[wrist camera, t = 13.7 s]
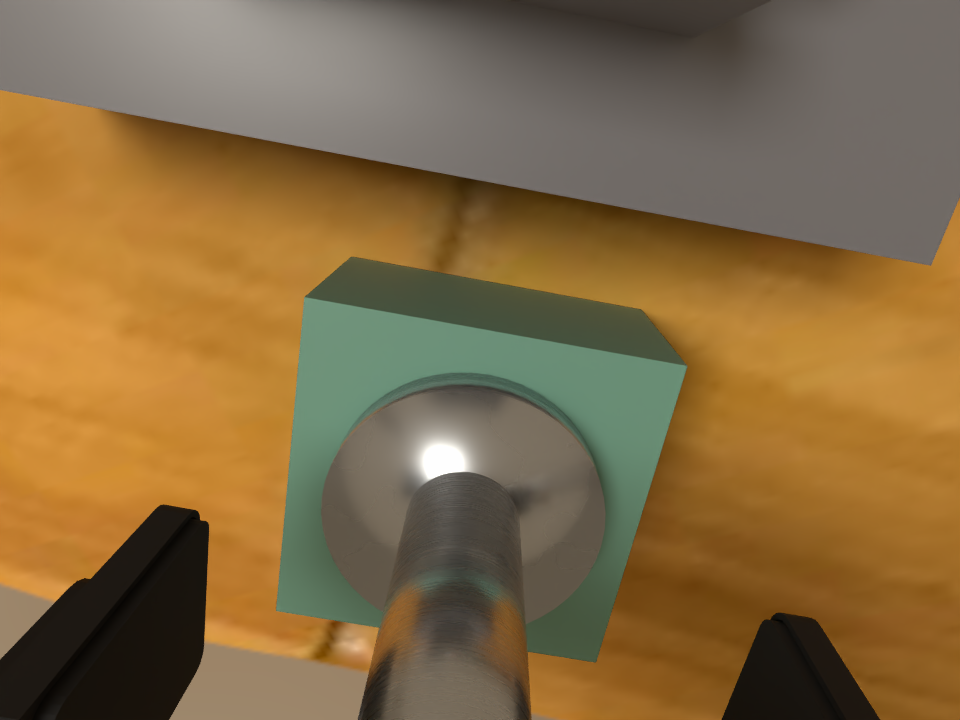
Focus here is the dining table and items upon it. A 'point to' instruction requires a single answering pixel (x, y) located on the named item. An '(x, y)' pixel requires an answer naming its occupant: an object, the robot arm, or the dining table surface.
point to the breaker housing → (557, 96)
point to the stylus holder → (485, 350)
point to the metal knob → (460, 539)
